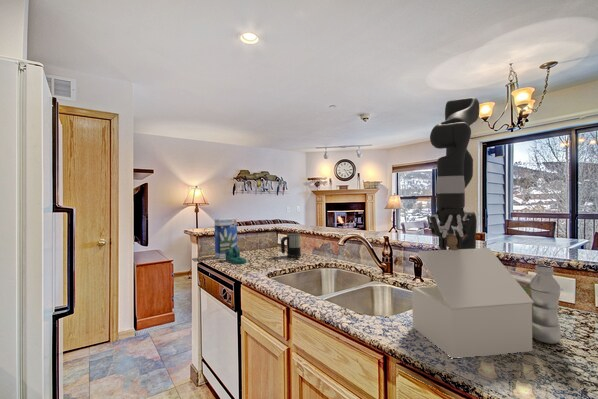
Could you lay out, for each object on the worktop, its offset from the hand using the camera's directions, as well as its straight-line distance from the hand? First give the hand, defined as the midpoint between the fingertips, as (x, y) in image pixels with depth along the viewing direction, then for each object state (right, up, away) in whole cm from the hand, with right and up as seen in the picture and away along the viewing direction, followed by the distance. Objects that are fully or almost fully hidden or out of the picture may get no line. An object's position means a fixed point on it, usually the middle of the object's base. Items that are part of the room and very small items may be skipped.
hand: (450, 249), depth 88 cm
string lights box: (-94, -24, +112) cm, 149 cm away
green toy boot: (-84, -24, +97) cm, 130 cm away
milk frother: (-48, -24, +107) cm, 119 cm away
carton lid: (+1, -5, -6) cm, 8 cm away
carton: (+1, -23, -6) cm, 24 cm away
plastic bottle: (+21, -23, -9) cm, 33 cm away
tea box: (+22, -23, +4) cm, 32 cm away
